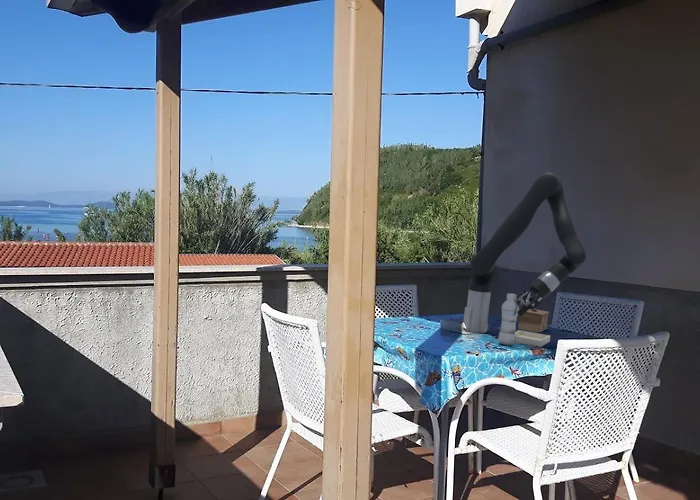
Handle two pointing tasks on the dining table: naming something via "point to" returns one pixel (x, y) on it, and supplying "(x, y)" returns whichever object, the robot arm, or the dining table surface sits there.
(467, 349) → the dining table surface
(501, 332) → the plastic bottle
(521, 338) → the tray
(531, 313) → the lidded box
